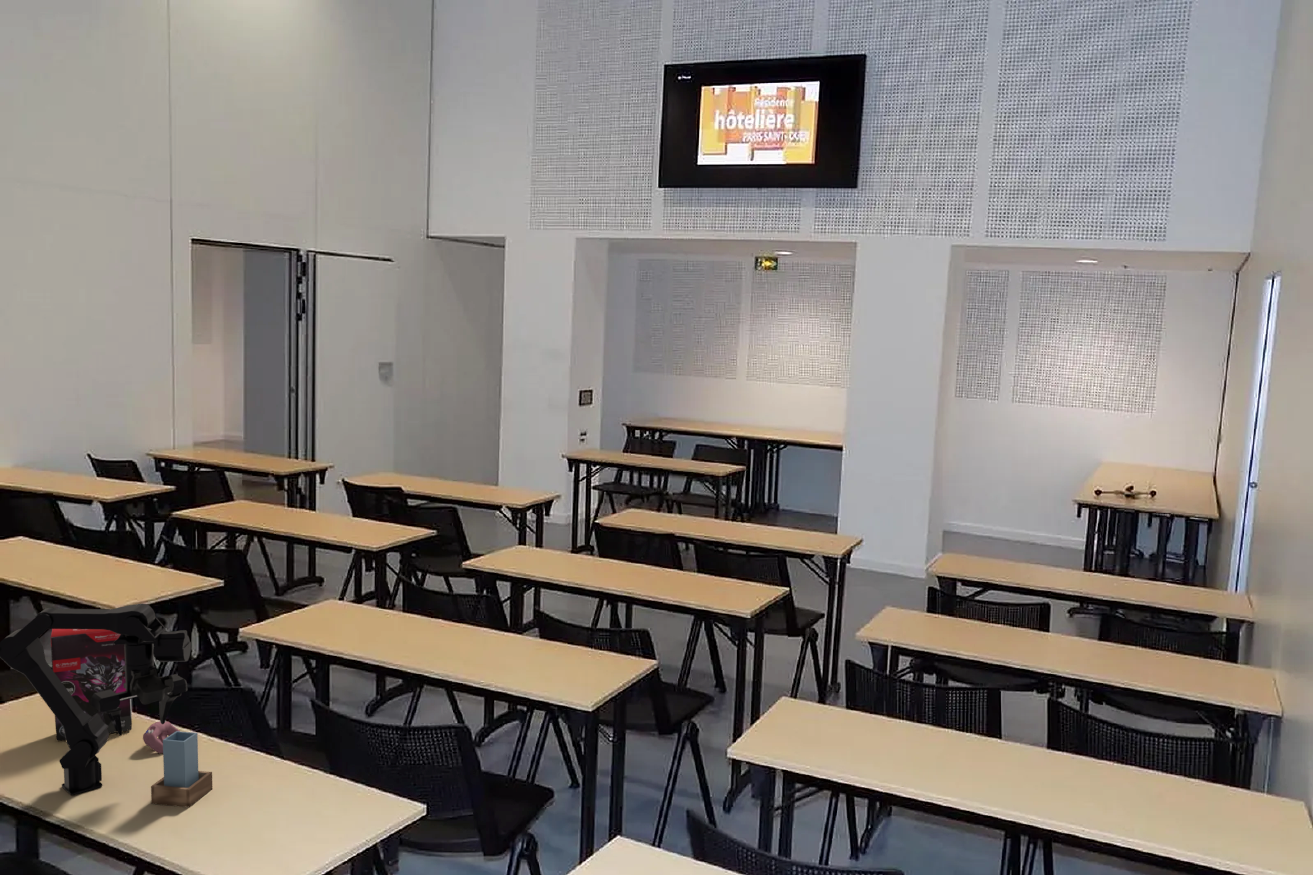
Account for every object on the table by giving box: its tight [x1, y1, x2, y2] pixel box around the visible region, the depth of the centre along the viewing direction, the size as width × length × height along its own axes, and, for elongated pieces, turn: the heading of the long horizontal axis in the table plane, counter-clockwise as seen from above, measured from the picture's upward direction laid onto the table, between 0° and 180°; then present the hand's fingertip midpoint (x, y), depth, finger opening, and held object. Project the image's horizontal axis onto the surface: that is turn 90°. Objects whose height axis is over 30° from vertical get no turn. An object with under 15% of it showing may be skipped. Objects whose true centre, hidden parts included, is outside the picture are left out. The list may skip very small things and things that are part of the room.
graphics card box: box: [50, 629, 133, 742], centre depth 261 cm, size 17×7×27 cm, turn 117°
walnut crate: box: [150, 770, 213, 808], centre depth 229 cm, size 9×9×4 cm
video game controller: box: [142, 719, 181, 754], centre depth 255 cm, size 10×5×7 cm, turn 179°
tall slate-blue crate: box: [162, 730, 199, 788], centre depth 229 cm, size 5×5×13 cm
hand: (141, 729), depth 233 cm, fingers open, 9 cm apart
